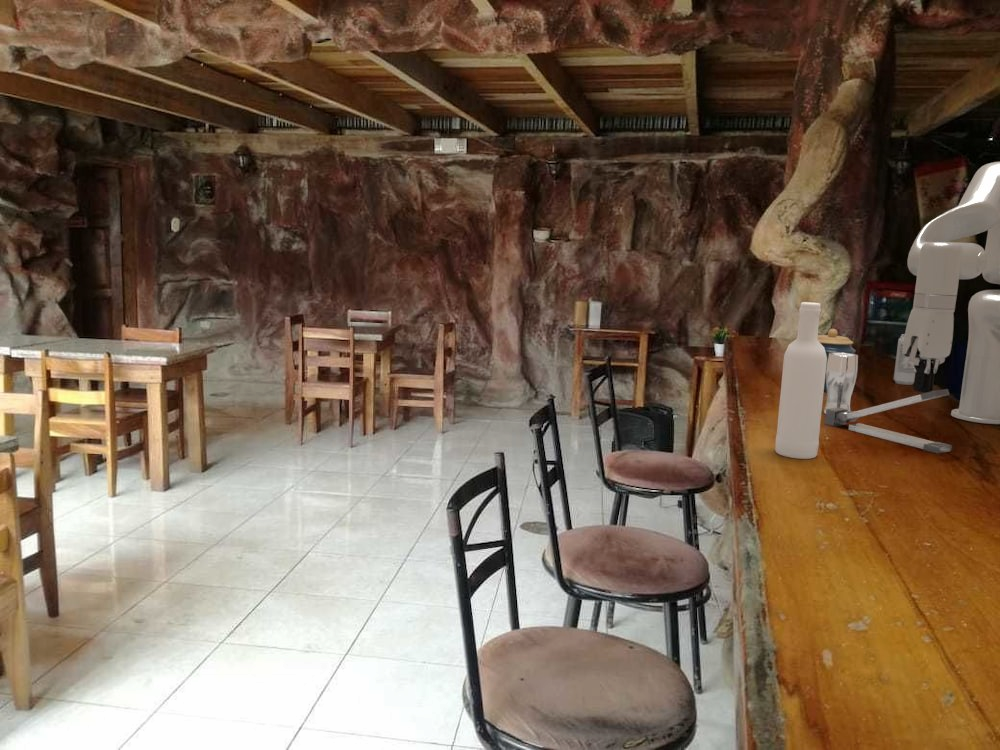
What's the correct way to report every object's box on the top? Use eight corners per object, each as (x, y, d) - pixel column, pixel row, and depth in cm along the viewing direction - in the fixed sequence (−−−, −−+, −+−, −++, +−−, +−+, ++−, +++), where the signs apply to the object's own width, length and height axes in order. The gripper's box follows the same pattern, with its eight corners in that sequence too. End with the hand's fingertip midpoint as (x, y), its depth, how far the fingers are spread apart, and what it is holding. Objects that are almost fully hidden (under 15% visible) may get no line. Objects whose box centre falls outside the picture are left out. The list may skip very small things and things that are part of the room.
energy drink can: (915, 383, 237) (921, 335, 235) (914, 386, 232) (920, 336, 230) (894, 380, 240) (899, 333, 238) (892, 383, 235) (898, 335, 233)
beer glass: (855, 418, 186) (862, 357, 183) (825, 416, 187) (831, 355, 184) (848, 412, 192) (855, 353, 190) (819, 410, 194) (825, 351, 191)
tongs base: (824, 424, 179) (825, 409, 178) (837, 422, 181) (839, 407, 180) (937, 453, 155) (939, 436, 155) (951, 451, 158) (953, 434, 157)
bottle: (790, 460, 148) (806, 304, 142) (766, 449, 155) (780, 301, 150) (826, 458, 150) (842, 304, 144) (800, 447, 157) (815, 301, 152)
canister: (793, 385, 228) (799, 326, 224) (829, 384, 231) (835, 326, 228) (823, 394, 215) (830, 331, 212) (861, 392, 219) (868, 331, 216)
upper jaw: (837, 423, 175) (834, 413, 176) (850, 422, 178) (848, 412, 178) (936, 399, 155) (933, 387, 155) (950, 397, 157) (946, 386, 158)
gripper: (938, 302, 163) (926, 386, 166) (894, 301, 156) (883, 390, 159) (973, 304, 157) (961, 392, 160) (930, 305, 149) (918, 397, 152)
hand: (922, 391), depth 159 cm, fingers closed
